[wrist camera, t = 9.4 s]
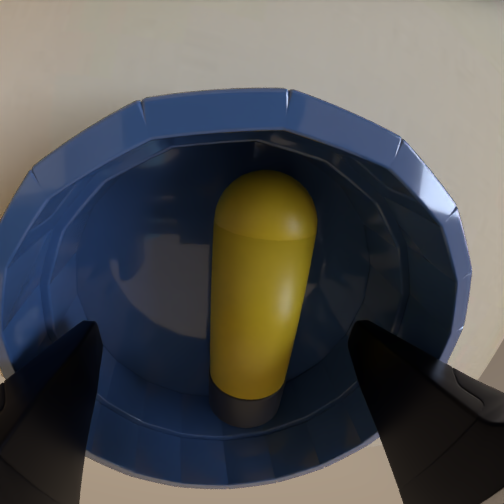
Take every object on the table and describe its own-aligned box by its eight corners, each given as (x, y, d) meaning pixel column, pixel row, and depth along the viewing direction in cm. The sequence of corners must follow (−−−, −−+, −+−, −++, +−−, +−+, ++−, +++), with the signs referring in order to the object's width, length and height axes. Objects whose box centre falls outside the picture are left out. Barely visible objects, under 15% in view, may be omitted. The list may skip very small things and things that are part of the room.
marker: (245, 376, 12) (290, 411, 10) (195, 403, 10) (240, 448, 9) (269, 162, 9) (347, 180, 7) (192, 164, 7) (275, 184, 5)
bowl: (265, 416, 14) (284, 495, 10) (39, 331, 10) (-4, 417, 5) (426, 236, 11) (510, 297, 6) (161, 41, 6) (117, -39, 2)
